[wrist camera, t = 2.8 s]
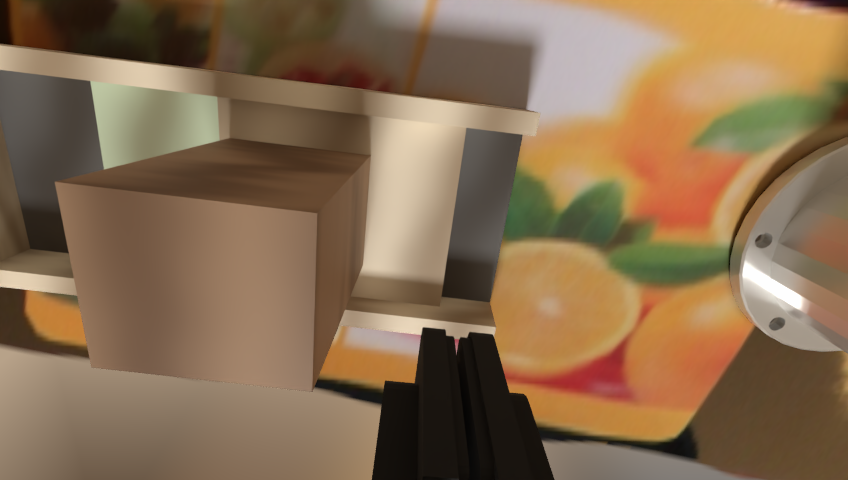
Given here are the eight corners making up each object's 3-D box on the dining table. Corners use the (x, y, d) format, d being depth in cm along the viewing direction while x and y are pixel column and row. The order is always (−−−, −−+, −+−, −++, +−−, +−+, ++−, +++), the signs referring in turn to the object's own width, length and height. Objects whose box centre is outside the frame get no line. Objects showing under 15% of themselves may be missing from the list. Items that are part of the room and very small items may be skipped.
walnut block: (370, 155, 20) (317, 213, 11) (363, 265, 23) (312, 391, 13) (229, 137, 20) (54, 181, 11) (234, 250, 22) (91, 367, 13)
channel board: (526, 109, 21) (543, 113, 18) (486, 314, 25) (493, 348, 22) (-33, 39, 20) (-122, 30, 17) (21, 260, 25) (-42, 287, 21)
